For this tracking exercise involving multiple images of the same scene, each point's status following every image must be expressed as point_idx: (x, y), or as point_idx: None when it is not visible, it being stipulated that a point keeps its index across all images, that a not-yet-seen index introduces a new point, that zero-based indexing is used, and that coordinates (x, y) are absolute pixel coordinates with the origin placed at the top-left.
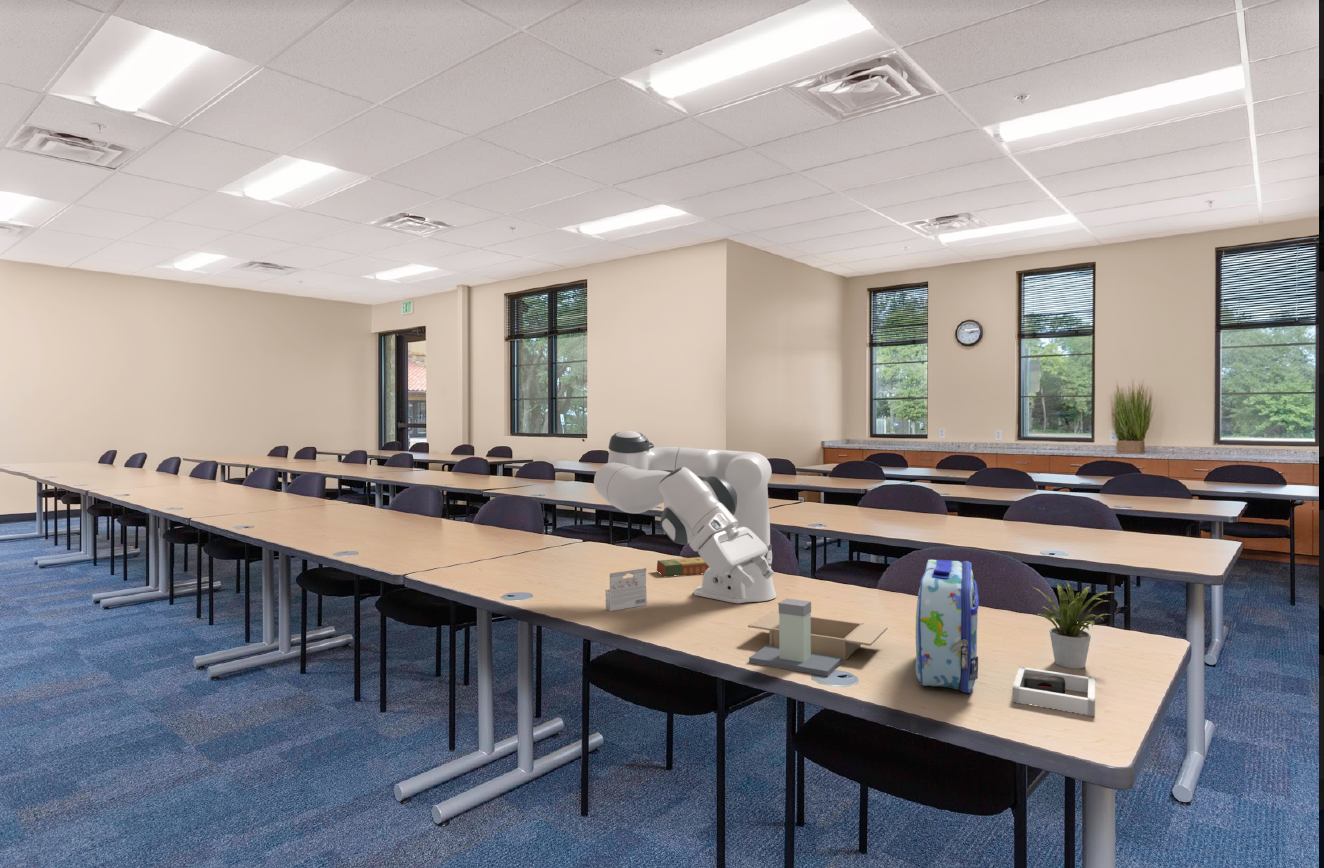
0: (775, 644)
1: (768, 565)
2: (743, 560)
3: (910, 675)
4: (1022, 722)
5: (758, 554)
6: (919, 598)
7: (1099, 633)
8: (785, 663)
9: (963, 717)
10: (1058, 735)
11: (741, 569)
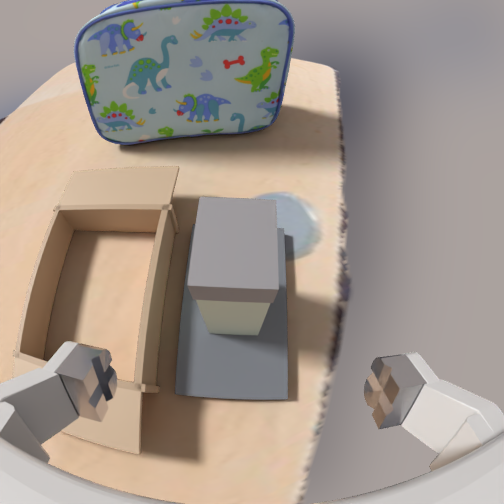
0: (153, 378)
1: (34, 372)
2: (466, 458)
3: (213, 146)
4: (296, 85)
5: (22, 454)
6: (286, 24)
7: (50, 86)
8: (284, 311)
9: (317, 109)
10: (306, 76)
11: (483, 409)
